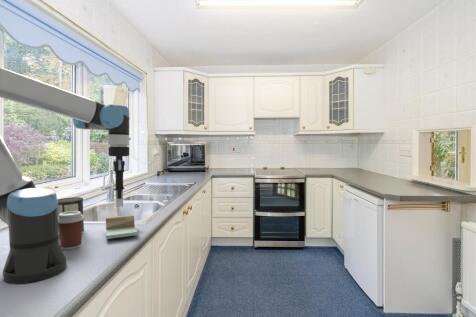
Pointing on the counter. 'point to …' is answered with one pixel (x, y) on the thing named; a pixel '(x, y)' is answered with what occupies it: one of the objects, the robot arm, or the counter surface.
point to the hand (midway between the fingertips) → (119, 206)
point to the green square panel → (121, 232)
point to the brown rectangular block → (119, 222)
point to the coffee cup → (70, 229)
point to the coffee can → (71, 206)
